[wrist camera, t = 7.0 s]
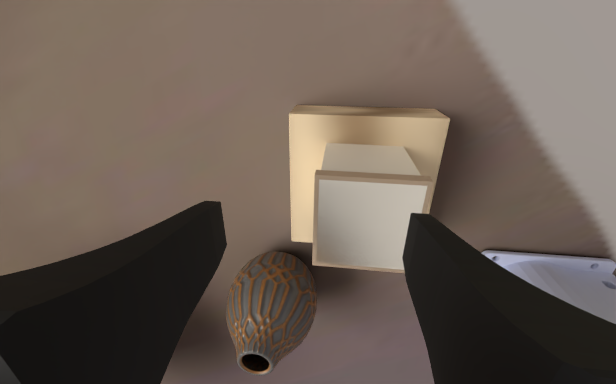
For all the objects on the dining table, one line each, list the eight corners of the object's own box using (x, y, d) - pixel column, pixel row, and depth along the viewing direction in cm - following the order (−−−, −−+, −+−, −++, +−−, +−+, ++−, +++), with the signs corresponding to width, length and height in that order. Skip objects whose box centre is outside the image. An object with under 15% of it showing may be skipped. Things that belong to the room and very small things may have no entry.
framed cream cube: (407, 143, 17) (433, 181, 12) (394, 215, 19) (412, 273, 14) (323, 139, 17) (314, 174, 12) (320, 210, 19) (312, 265, 14)
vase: (245, 231, 25) (199, 316, 17) (325, 246, 24) (317, 339, 17) (243, 291, 28) (203, 385, 20) (313, 304, 27) (301, 405, 20)
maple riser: (434, 108, 19) (450, 118, 16) (411, 226, 23) (420, 250, 20) (296, 105, 19) (288, 113, 17) (297, 219, 23) (291, 241, 21)
